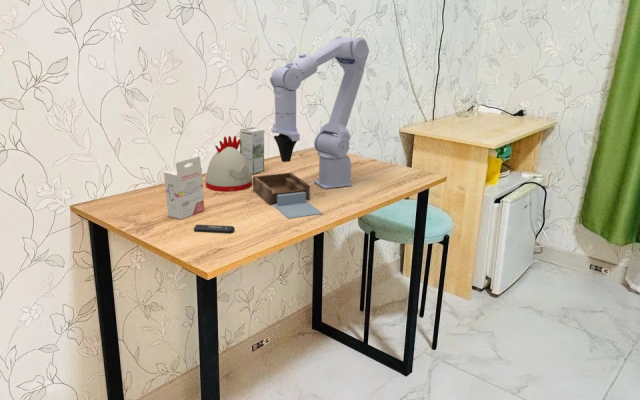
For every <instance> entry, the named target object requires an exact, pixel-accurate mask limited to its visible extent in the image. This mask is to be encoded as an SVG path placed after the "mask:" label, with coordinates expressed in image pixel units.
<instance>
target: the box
mask: <svg viewBox="0 0 640 400" xmlns="http://www.w3.org/2000/svg"><path fill="white" fill-rule="evenodd" d="M310 188H311V186H310V185H309V184H308V183H307V182H306V181H304V180H303V179H301V178H299V177H298V176H297V175H295V174H294V173H292V172H285V173H274V174H273V173H272V174H267V175H266V174H264V175H256V176H254V175H253V176H252V190H253V192H254V193H256V194H257V196H259V197H260V198H261V199H262V200H263V201H264V202H265V203H267V204H268V205H269V206H270V205H271V206H272V205H273V204H277V195H281V194H290V193H298V192H305V193H306V201H308V200H310V197H311V196H310V192H311V191H310V190H311V189H310Z"/></svg>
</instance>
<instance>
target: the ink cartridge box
mask: <svg viewBox="0 0 640 400" xmlns="http://www.w3.org/2000/svg"><path fill="white" fill-rule="evenodd" d="M190 164H192V165H190ZM163 175H164V187H165V188H164V189H165V199H166V207H167V216H168V217H171V218H175V219H177V220H183V219H186V218H189V217H191V216H193V215H195V214H198V213H201V212H203V211H204V210H205V203H204V202H205V200H204V197H205V196H204V184H203V169H202V163H201V157H200V156H199V155H198V156H196V157H191V158H186V159H184V160H181V161H177V162H176V163H175V168H174V169H171V170H170V169H169V170H167V171H164V172H163Z"/></svg>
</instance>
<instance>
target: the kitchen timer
mask: <svg viewBox="0 0 640 400" xmlns="http://www.w3.org/2000/svg"><path fill="white" fill-rule="evenodd" d="M240 141H241V140H240V138H239V139H238V140H237V136H236V135H234V136H233V138H232V137H231V136H230V135H228V138H227V136H224V137H223V142H222V140H219V146H220V148H219V147H218V145H216V144H214V146H215V149H216V152H215V153H214V154H213V155H212V158H211V160H210V161H209V164H208V166H207V171H206V175H205V187H206V188H207V189H209V190H210V191H214V192H221V193H223V192H225V193H229V192H230V193H231V192H233V193H234V192H239V191H240V192H241V191H244V190H248V189H249V188H250V189H251V187H253V176H252V174H251V172H250V169H249V166H248V163H247V161H246V159H245V158H244V156H243V155H242V154H241V153H240V150H238V149H239V148H240Z"/></svg>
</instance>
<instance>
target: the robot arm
mask: <svg viewBox="0 0 640 400" xmlns="http://www.w3.org/2000/svg"><path fill="white" fill-rule="evenodd" d="M369 53H370V49H369V46H368V43H367V40H366V39H365V38H364V37H349V36H348V37H345V36H336V37H334V38H332V39H330V41H329V43H327V44H325V45H324V46H323V47H321V48H320V49H318V50H317V51H316V52H314V53H313V54H309V53H301V54H299V55H298V58H296V59H295V60H293V61H289V62H287V63H286V65H285V66H277V67H276V68H275V69H274V70H273V71H272V74H271V77H269V82H270V84H271V87H272V88H273V94H274V118H275V121H274V122H275V123H274V124H272V128H271V130H270V131H271V133H273V134H274V133H276V134H278V135H274V136H273V139H274V141H275V142H276V145H277V148H278V152H279V156H280V160H281V161H282V162H283V163H287V162H290V161H291V159H292V156H293V155H292V154H293V151H294V149H295V146H296V144H297V142H298V141H300V140H301V139H300V138H301V135H300V134H301V133H299V131H298V128H297V90H298V89H299V88H300V85H301V84H302V82H303V81H305V80H306V79H308V78H309V77H311V76H313V75H315V74H317V71H318V67H319V66H321V65H323V64H325V63H327V62H329V61H331V60H333V59H335V61H336V62H337V63H338V64H339V66H340V67H341V68H342V70H343V75H342V79H341V84H340V85H339V90H338V93H337V96H336V98H335V100H334V101H335V102H334V104H333V108H332V111H331V114H330V116H329V120H328V122H327V123H326V124H324V125H323V126H321V127H320V130H319V132H318V134H317V135H316V136H315V138H314V142H313V145H314V150H316V152H317V155H318V156H319V158H318V159H319V163H318V164H319V165H318V179H315V180H313V182H314V183H315V184H317V185H318V186H320V187H321V188H322V189H326V190H327V189H334V188H343V187H350V186H352V184H353V183H351V181H352V161H351V158H350V156H349V155H347V154H348V152H349V149H350V140H351V137H352V135H351V133H350V132H349V131H348V129H347V125H348V122H349V119H350V116H351V114H352V110H353V108H354V103H355V101H356V98H357V94H358V91H359V88H360V85H361V82H362V78H363V75H364V72H365V67H366V63H367V59H368V56H369Z"/></svg>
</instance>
